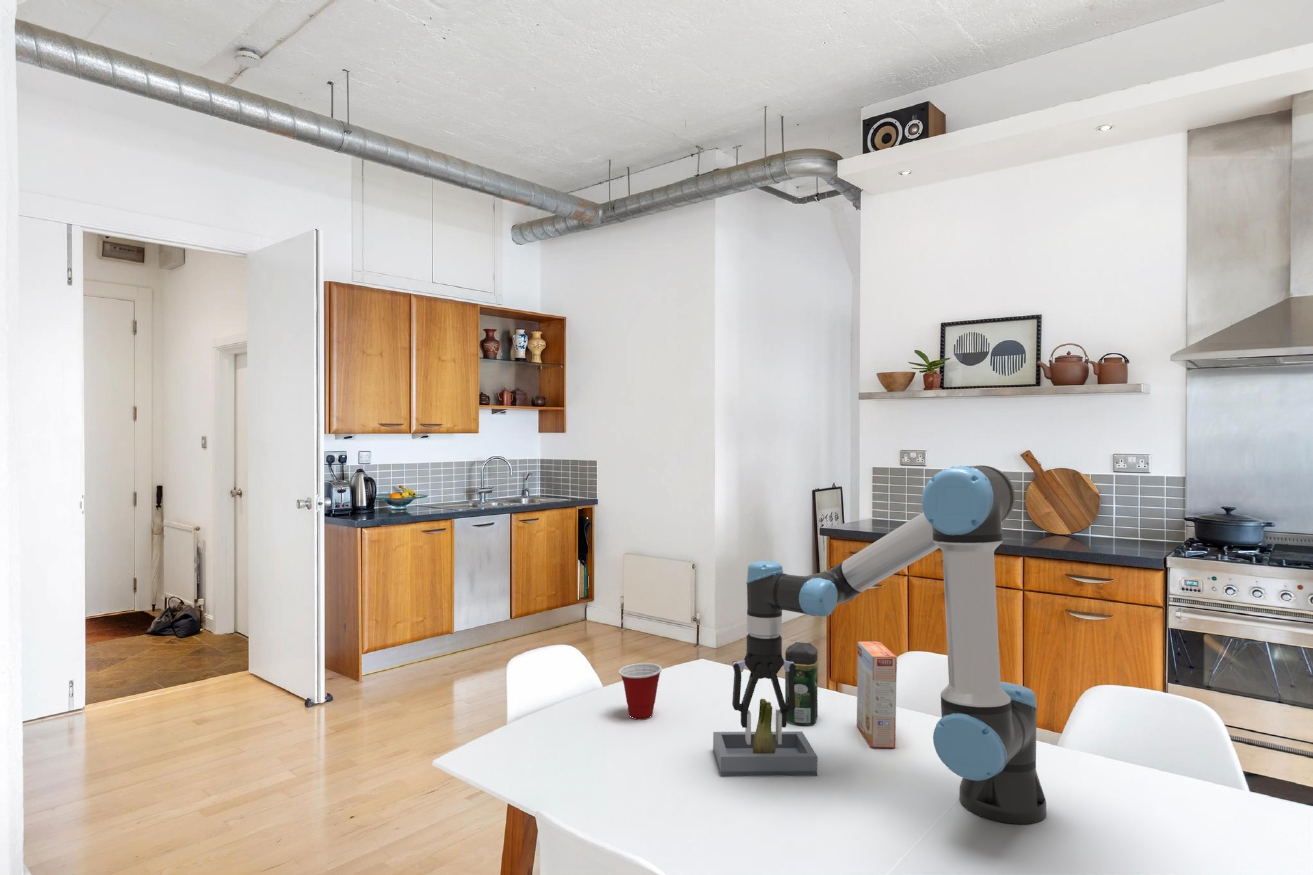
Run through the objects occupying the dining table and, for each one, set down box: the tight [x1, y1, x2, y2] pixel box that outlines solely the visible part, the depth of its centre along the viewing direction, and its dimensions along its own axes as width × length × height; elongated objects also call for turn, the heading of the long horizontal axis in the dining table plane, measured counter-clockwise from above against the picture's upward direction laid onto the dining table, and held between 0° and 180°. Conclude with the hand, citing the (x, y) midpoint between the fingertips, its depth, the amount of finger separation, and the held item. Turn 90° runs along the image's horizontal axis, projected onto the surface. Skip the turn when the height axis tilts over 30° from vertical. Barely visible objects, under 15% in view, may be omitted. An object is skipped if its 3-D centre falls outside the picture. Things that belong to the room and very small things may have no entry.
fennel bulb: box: [753, 698, 776, 754], centre depth 169 cm, size 6×5×12 cm
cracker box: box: [856, 640, 898, 749], centre depth 184 cm, size 14×6×21 cm, turn 179°
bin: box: [712, 730, 818, 777], centre depth 169 cm, size 14×20×4 cm
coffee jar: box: [784, 641, 819, 726], centre depth 196 cm, size 10×8×19 cm
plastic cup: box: [618, 662, 663, 720], centre depth 197 cm, size 11×11×12 cm
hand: (763, 742), depth 169 cm, fingers open, 6 cm apart
